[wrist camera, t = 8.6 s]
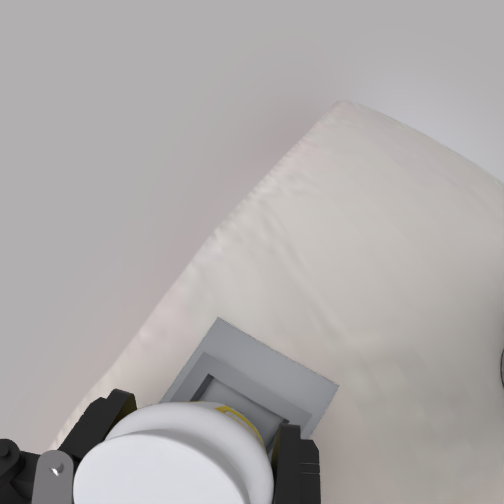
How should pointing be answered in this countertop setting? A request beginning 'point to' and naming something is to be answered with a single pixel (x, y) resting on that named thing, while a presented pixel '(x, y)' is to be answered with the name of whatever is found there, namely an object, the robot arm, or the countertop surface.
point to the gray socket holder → (252, 383)
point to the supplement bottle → (178, 459)
